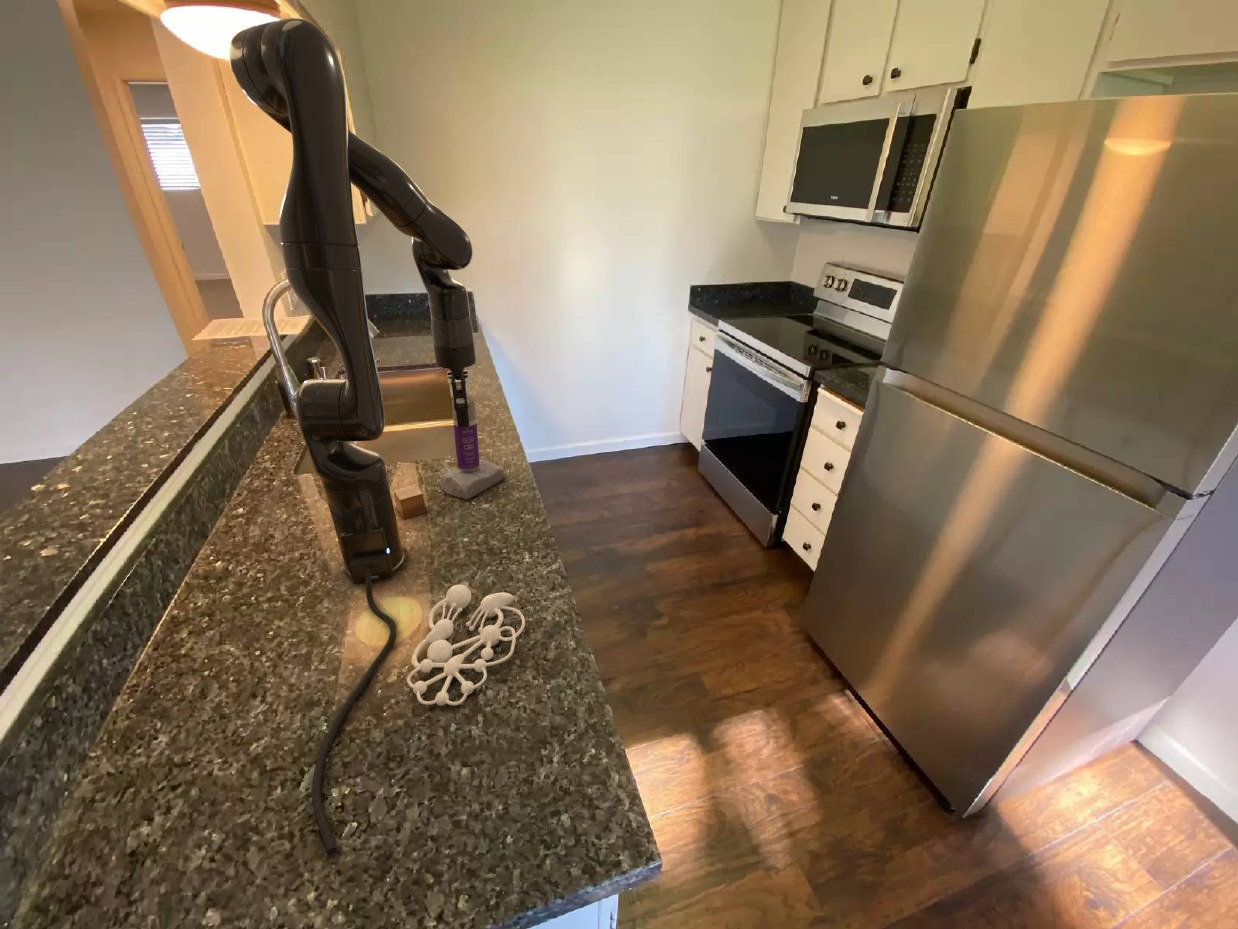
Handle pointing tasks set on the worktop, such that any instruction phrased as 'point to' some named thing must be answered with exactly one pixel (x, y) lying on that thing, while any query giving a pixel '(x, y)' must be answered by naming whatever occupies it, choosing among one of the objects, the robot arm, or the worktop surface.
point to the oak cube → (409, 501)
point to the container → (466, 439)
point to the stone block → (471, 480)
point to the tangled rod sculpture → (461, 643)
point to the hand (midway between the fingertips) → (463, 417)
